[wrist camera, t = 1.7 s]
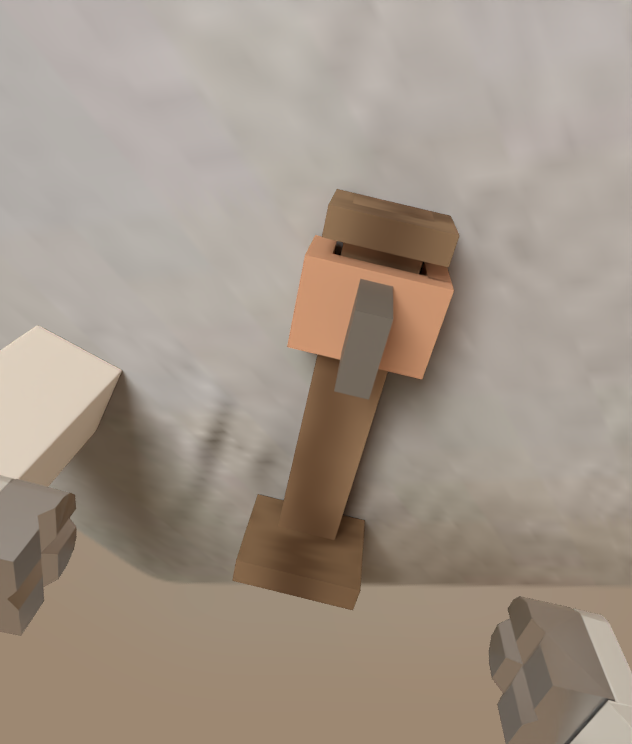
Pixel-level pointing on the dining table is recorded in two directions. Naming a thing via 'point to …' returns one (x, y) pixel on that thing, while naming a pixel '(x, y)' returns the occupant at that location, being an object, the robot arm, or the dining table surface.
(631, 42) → the dining table surface
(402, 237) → the rail
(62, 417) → the milk
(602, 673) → the robot arm
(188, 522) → the dining table surface
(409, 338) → the slider
